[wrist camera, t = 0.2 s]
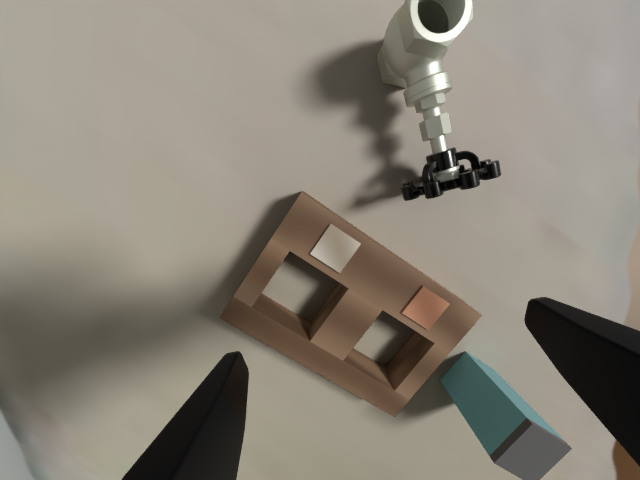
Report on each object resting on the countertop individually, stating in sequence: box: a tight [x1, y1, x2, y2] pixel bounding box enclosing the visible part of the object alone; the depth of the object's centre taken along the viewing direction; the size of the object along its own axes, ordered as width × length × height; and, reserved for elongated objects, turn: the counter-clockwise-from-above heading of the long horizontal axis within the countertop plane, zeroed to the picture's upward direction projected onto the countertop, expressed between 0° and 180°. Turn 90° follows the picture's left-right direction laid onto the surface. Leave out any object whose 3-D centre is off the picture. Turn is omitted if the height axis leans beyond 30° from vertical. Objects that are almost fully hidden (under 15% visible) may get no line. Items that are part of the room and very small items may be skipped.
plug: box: [440, 351, 572, 480], centre depth 22 cm, size 4×4×8 cm
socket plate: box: [219, 191, 482, 417], centre depth 23 cm, size 12×18×3 cm, turn 56°
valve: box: [377, 0, 501, 201], centre depth 18 cm, size 7×7×12 cm
